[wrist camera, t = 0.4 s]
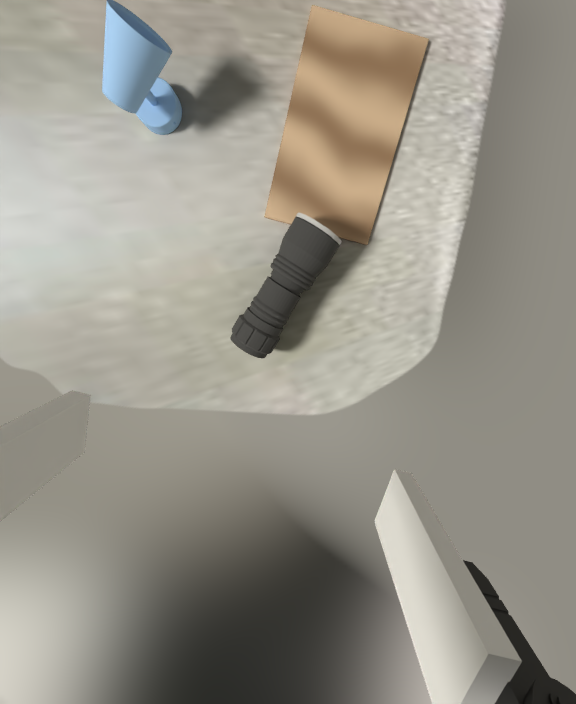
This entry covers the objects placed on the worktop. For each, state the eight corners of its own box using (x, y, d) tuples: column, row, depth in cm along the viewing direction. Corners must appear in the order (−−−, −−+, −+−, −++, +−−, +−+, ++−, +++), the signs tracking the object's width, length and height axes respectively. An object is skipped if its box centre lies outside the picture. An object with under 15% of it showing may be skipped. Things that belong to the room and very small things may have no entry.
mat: (311, 8, 30) (311, 4, 30) (427, 42, 31) (428, 38, 30) (264, 217, 35) (264, 216, 34) (366, 245, 35) (367, 244, 35)
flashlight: (269, 355, 38) (264, 368, 33) (231, 333, 38) (220, 342, 32) (338, 244, 35) (345, 239, 30) (297, 217, 34) (297, 207, 29)
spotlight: (165, 60, 32) (125, 117, 33) (107, -40, 22) (54, 46, 23) (202, 97, 32) (162, 151, 34) (161, 16, 23) (107, 97, 24)
